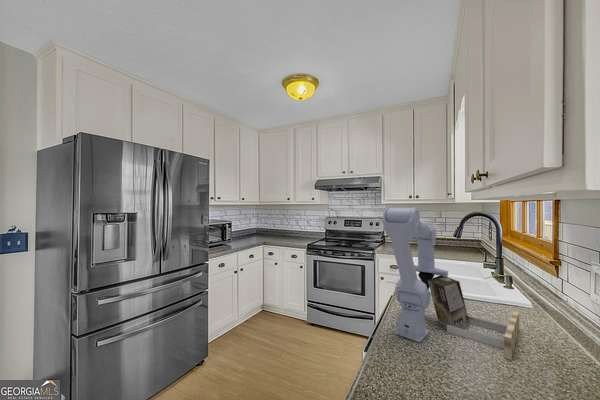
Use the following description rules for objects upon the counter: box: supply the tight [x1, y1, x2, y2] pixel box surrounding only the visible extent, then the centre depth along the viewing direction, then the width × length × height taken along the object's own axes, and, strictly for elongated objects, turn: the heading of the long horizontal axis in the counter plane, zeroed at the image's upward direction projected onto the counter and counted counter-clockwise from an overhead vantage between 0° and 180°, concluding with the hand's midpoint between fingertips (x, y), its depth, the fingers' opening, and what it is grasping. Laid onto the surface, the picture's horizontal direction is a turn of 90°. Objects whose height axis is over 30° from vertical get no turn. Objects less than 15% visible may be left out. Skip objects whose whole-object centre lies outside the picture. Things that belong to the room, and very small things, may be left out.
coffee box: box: [428, 275, 471, 329], centre depth 91 cm, size 9×6×16 cm
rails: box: [446, 314, 508, 350], centre depth 86 cm, size 13×16×2 cm
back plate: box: [503, 310, 520, 361], centre depth 80 cm, size 24×2×6 cm, turn 135°
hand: (426, 291), depth 98 cm, fingers closed
